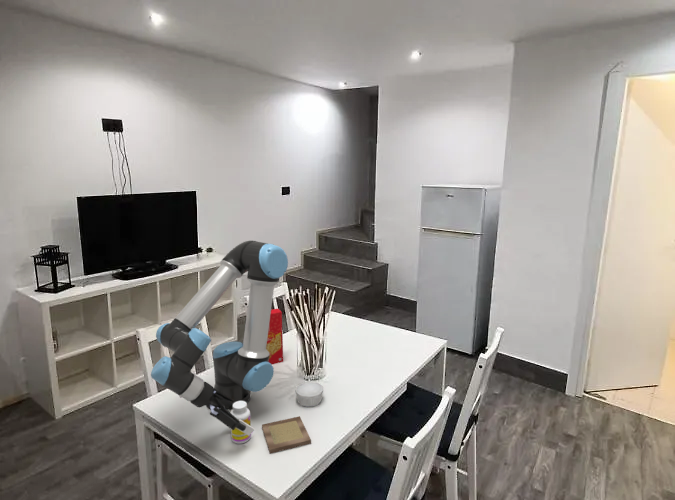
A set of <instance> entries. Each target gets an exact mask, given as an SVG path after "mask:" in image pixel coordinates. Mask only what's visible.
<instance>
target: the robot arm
mask: <svg viewBox="0 0 675 500" xmlns="http://www.w3.org/2000/svg"><path fill="white" fill-rule="evenodd" d="M288 266H289V260H288V256H287V253H286V251H285V250H284V249H283V248H282V247H281V246H279V245H275V244H273V243H267V242H261V241H256V240H245V241H243V242H241V243H239V244H237V245H236V246H235V247H233V248H232V249H231V250H230V251H229V252H228V253H226V255H225V256H224V257H222V259H221V260H220V266H219V267H217V269H216V270H215V271H214V272H213V274H212V275H211V276H210V277H209V278H208V279H207V281H206V282H205V283H204V284H203V285H202V286H201V287H200V289H198V291H197V292H196V293H195V294H194V295H193V296H192V297H191V299H190V300H189V301H188V302H187V304H185V306H184V307H183V308H182V309H181V310H180V312H179V313H178V314H177V315H176V316H175V317H174V318H173V320H171V322H167V323H165V322H164V324H161V325H160V326H159V327H158V329H157V330H156V332H155V333H156V334H155V338H156V341H157V342H158V343H159V344H160V345H162V346H163V347H164V348H167V349H168V350H171V351H172V352H173V353H172V355H171V356H170V357H168V356H166V355H164V356H163V357H161V358H160V359H159V360H158V361H157V362H156V363H155V365H154V366H153V368H152V370H151V371H150V377H151V378H152V379H153V380H154V381H156V382H157V383H158V384H160V385H161V386H162V387H164V388H166V389H168V390H170V391H171V392H173V393H174V394H176V395H178V396H179V398H180V399H181V398H183V399H184V400H186V401H188V402H190V403H191V404H192V405H194V406H195V407H197V408H202V407H204V406H206V408H207V409H208V410H209V411H210V412H209V415H210V416H212V417H214V418H216V419H217V420H218V421H220V422H221V423H222V424H224V425H225V426H227V427H228V428H229V429H230V430H231V429H232V430H234V429H235V428H237V429H239V430H240V431H242V432H243V433H245V434H247V435H248V436H249V435H250V434H251V435H252V433H253V432H254V431H255V429H256V428H254V427H253V426H252V425H251V426H250V425H248V424H247V423H245V422H243V421H242V420H240V419H239V420H238V419H237V418H236V417H235V416H233V415H232V414H231V412H232V410H233V404H234V403H235V402H237V401H245V402H246V403H247V404H248V402H249V401H250V400H251V397H252V396H251V394H252V393H257V392H260V391H262V390H264V389H266V387H267V386H268V385H269V384H270V382H271V381H272V379H273V376H274V374H275V373H274V372H275V370H274V366H273V364H272V365H271V363H269V362H268V361H269V352H268V351H267V349H266V345H267V337H268V330H269V322H270V314H271V310H272V306H273V299H274V298H273V297H274V293H275V291H274V290H275V286H276V285H277V284H278V283H280V278H281V277H283V276H284V275H285V273H286V272H287V270H288ZM245 273H247V278H246V279H247V280H248V282H249V283H250V287H249V294H248V302H247V311H246V318H245V326H244V334H243V340H242V341H243V342H241V341H227V342H223V343H220V344H218V345H217V346H216V347H215V348H213V351H212V352H213V353H212V359H213V369H214V370H213V371H214V382H215V383H214V386H213V385H211V384H210V383H209V382H207V381H205V380H204V379H202V377H200V376H198V375H196V374H195V373H193V372H191V371H192V369H193V367H194V366H195V365H196V363H197V362H198V361H199V359H200V358H202V355H203V354H204V353H205V352H206V351H207V348H208V347H209V346H210V344H211V342H212V339H211V336H209V335H208V334H206V333H205V332H204V331H202V330H201V329H199V328H196V327H197V326H198V325H199V323H200V322H201V321H202V320H203V319H204V317H206V315H207V314H208V313H209V312H210V311H211V309H213V307H214V306H215V305H216V304H217V302H218V301H219V299H221V297H223V295H224V294H225V292H227V290H228V289H229V287H231V286H232V284H233V283H234V282H235V281H236V280H237V279H240V278H242V276H244V274H245Z"/></svg>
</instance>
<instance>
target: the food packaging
mask: <svg viewBox="0 0 675 500" xmlns="http://www.w3.org/2000/svg"><path fill="white" fill-rule="evenodd" d="M283 334H284V333H283V312H282V311H281V309H280V308H274V309H273V308H271V314H270V322H269V330H268V337H267V345H266V349H267V351H268V352H269V361H268V362H269V363H271V365H272V366H273V365H275V364H279V363H284V341H283V337H284V335H283Z"/></svg>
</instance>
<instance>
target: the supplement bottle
mask: <svg viewBox="0 0 675 500" xmlns="http://www.w3.org/2000/svg"><path fill="white" fill-rule="evenodd" d="M231 410H232V409H231ZM230 413H231V414H232V415H233V416H235V417H236V418H237V419H238V420H239V419H240V420H242V421H243V422H245V423H247V424H248V425H250V426H251V427H252V425H251V423H252V422H251V411H250V409H249V408H248V402H247V403H246V402H245V401H237V402H235V403H234V404H233V410H232V412H231V411H230ZM230 433H231V434H230V437H231V441H232V443H234V444H244V443H247V442H249V440H250V439H251V438H252V433H251V434H250V435H249V436H248V435H247V434H245V433H243V432H242V431H240V430H239V429H237V428H235V429H234V430H232V429H231V428H230Z"/></svg>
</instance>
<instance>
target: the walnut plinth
mask: <svg viewBox="0 0 675 500" xmlns="http://www.w3.org/2000/svg"><path fill="white" fill-rule="evenodd" d="M261 430H262V434H263V436H264V439H265V442H266V445H267V449H268V453H269V454H275V453H278V452H283V451H287V450H291V449H294V448H296V449H297V448H298V447H299V448H300V447H303V446H307V445H311V444H312V439H311V437H310V435H309V433H308V431H307V428H306V426H305V425H304V422H303V420H302V417H301V416H294V417H290V418H285V419H280V420H277V421H272V422H267V423H263V424H261Z"/></svg>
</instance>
